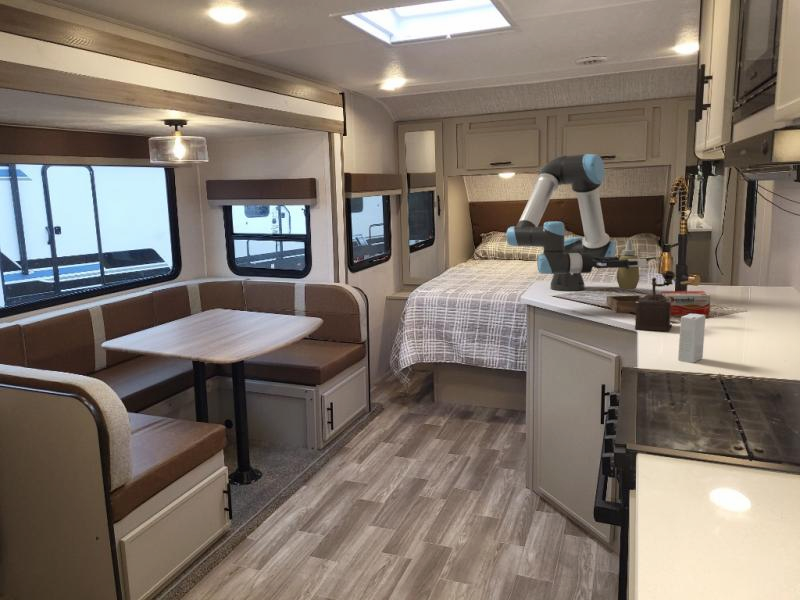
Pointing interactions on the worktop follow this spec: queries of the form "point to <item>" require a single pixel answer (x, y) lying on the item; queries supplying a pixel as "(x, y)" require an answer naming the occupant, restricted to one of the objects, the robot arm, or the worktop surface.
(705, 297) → the medicine box
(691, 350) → the skincare box
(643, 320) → the manual coffee grinder
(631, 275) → the squeeze bottle
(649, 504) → the worktop surface
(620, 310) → the walnut well
